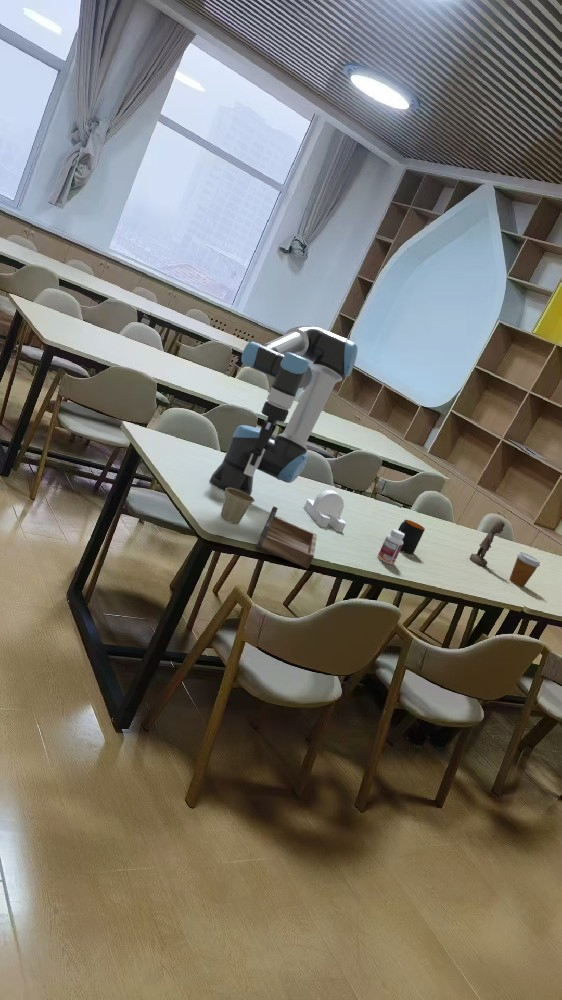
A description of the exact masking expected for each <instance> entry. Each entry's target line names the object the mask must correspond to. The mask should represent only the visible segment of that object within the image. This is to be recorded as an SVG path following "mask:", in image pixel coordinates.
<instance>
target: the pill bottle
mask: <svg viewBox="0 0 562 1000" xmlns="http://www.w3.org/2000/svg"><path fill="white" fill-rule="evenodd" d="M404 536H405V534H404V533H402V532H401V531H399V530H398V529H396V528H392V529H391V531H390V534H388V535H386V536H385V538H384V540H383V543H382V546H381V547H380V550H379V552H378V554H377V558H378V560H380V561H381V562H383V563H386V564H389V565H394V564H395V563H396V561H397V559H398V556H399V554H400V552H401V548H402V545H403V540H402V539H403V538H404Z"/></svg>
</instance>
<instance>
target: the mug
mask: <svg viewBox="0 0 562 1000" xmlns="http://www.w3.org/2000/svg"><path fill="white" fill-rule="evenodd" d="M397 530H399V531H401V532H402V533H404V534H405V536H404V538H403V539H402V540H403V545H402V548H401V550H400V552H403V553H406V554H409V555H413V554H414V553H415V551H416V549H417V547H418V545H419V543H420V541H421V538H422V536H423V535H424V532H425V530H426V529H425V527H424V526H422V525H421V524H419V523H417V522H414V521H412V520H409V519H404V520H403V522H402V523H401V524H400V525H399V527H398V529H397Z"/></svg>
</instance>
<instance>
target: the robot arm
mask: <svg viewBox="0 0 562 1000" xmlns="http://www.w3.org/2000/svg"><path fill="white" fill-rule="evenodd" d="M357 356H358V345H357V344H356V343H355V342H354V341H351V340H349V339H348V338H346V337H342V336H340V335H338V334H336V333H333V332H331V331H328V330H326V329H323V328H322V327H319V326H313V325H302V326H295V327H292V328H289V329H288V330H287V331H286V332H285V333H284V334H283V335H282V336H279V337H277V338H275V339H272V340H271V341H269V342H266V343H264V344H261V343H259V342H256V341H249V342H247V344H246V345H245V346H244V349H243V351H242V353H241V363H242V364H243V365H245V366H247V367H249V368H250V369H253V370H255V371H258V372H260V373H261V374H264V375H267V376H270V377H272V378H274V380H273V382H272V385H271V388H269V389H267V393H268V394H267V396H266V399H267V400H266V401H265V402H264V405H263V407H262V409H261V414H262V415H263V416H265V417H267V419H266V420H264V421H263V422H262V424H261V428H260V427H255V426H250V425H244V424H243V425H242V424H241V425H239V426H237V427H236V428H235V431H234V433H233V435H232V437H231V440H230V442H229V445H228V448H227V450H226V453H225V456H224V457H223V460H222V462H221V464H220V465H219V466H218V467H217V469H215V471H214V472H213V473H212V474H211V476H210V479H209V482H210V483H211V484H212V486H214V487H216V488H217V489H219V490H221V491H223V492H225V493H226V488H233V489H237V490H240V491H242V492H244V493H246V494H248V495H250V496H252V492H253V487H254V486H253V483H254V474H255V472H256V470H258V471H260V472H262V473H265V474H267V475H269V476H271V477H273V478H275V479H276V480H278V481H282V482H285V483H287V484H291V483H292V482H294V481H296V480H297V479H298V477H299V476H300V475H301V473H302V471H304V469H305V467H306V465H307V463H308V460H309V456H308V455H307V452H308V448H307V447H308V446H307V444H306V443H307V442H308V439H309V437H310V435H311V434H312V432H313V430H314V427H315V426H316V424H317V421H318V420H319V418H320V416H321V413H322V411H323V410H324V409H325V408H324V407H325V406H326V403H327V401H328V400H329V397H330V395H331V393H332V391H333V389H334V387H335V385H336V384H337V383H338V382H342V381H343V379H344V377H347V378H348V377H350V375H351V374H352V372H353V369H354V366H355V363H356V359H357ZM309 361H310V362H312V364H311V366H310V365H309ZM303 388H304V390H303V392H302V394H301V397H300V398H299V400H298V402H297V405H296V406H295V408H294V411H293V412H292V415H291V417H289V418H290V419H289V420H288V422H287V425H286V427H285V429H284V430H283V432H282V433H279V434H277V435H276V437H275V438H274V439H273V438H271V437H272V436H273V433H274V432H276V429H277V425H276V423H277V422H280V423H281V422H282V423H284V422H286V420H287V418H288V415H289V413H290V411H289V410H290V409H291V408H292V405H293V403H294V400H295V398H296V395H297V393H298V390H299V389H303Z"/></svg>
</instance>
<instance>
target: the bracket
mask: <svg viewBox="0 0 562 1000" xmlns="http://www.w3.org/2000/svg"><path fill="white" fill-rule="evenodd" d="M344 508H345V502H344V499H343V497H341V495H339V493H338V492H336V491H335V490H332V489H326V490H323V491H321V492H320V493H319V494H318V495H317V496H316V497H315V499H314V500H313V499H310V498H307V499H306V502H305V504H304V506H303V509H304V510H305V511H306V513H307V514H309V515H310V517H311V519H312V520H313V521H314V522H315V523H316V524H317V525H318V526H320V527H322V528H325V529H327V527H328V525H329V526H331V528H333V530H334V531H336V532H339V533H343V531H344V529H345V527H346V524H347V523H346V521H345V520H344V519H343V518H342V517H341V515H342V513H343V510H344Z"/></svg>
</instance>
